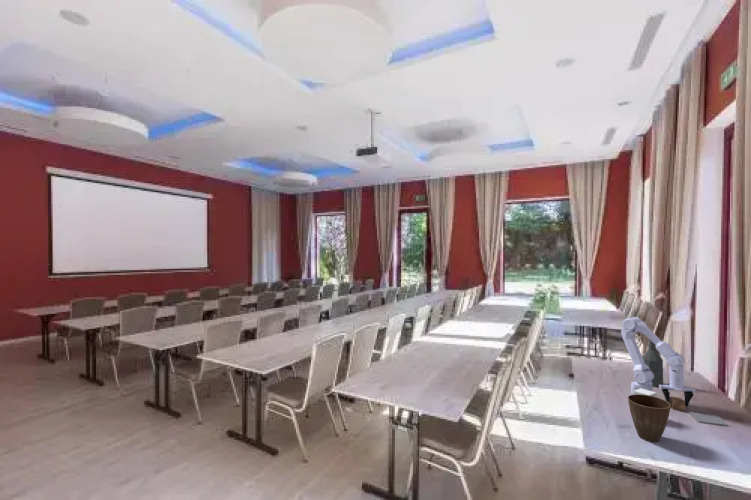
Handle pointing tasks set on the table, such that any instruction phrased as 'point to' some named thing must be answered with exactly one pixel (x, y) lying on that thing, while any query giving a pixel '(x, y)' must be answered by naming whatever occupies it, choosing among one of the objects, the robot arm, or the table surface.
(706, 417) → the slate mat
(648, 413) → the plant pot
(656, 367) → the bottle
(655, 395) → the supplement box
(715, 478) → the table surface
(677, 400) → the walnut block
